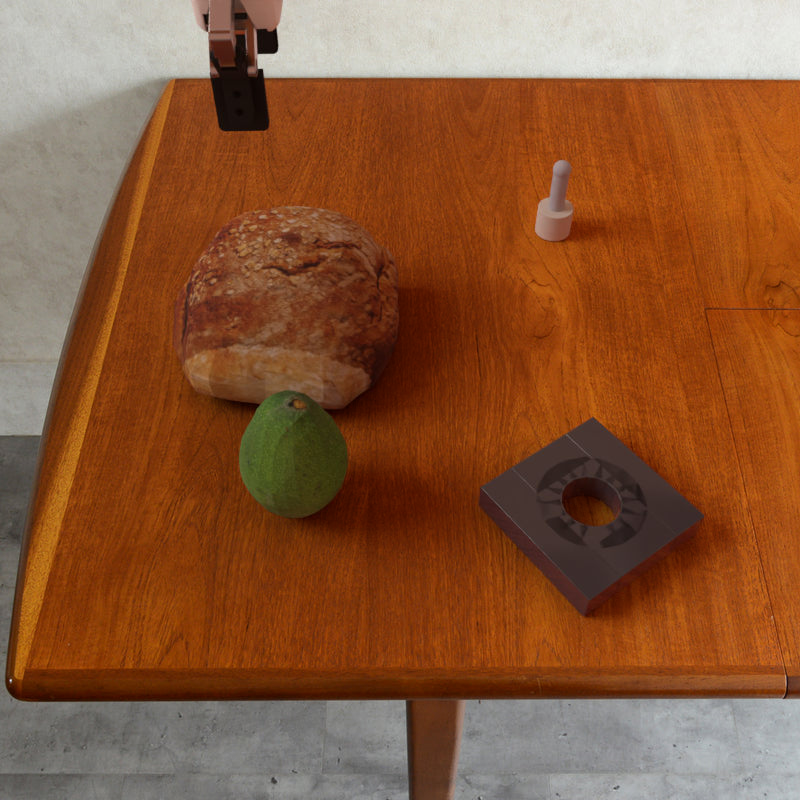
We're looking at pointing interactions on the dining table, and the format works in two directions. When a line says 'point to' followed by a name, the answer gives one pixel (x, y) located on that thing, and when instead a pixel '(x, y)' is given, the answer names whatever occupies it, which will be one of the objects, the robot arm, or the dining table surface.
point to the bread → (288, 308)
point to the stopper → (556, 206)
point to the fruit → (292, 455)
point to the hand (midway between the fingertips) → (251, 88)
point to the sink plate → (583, 544)
